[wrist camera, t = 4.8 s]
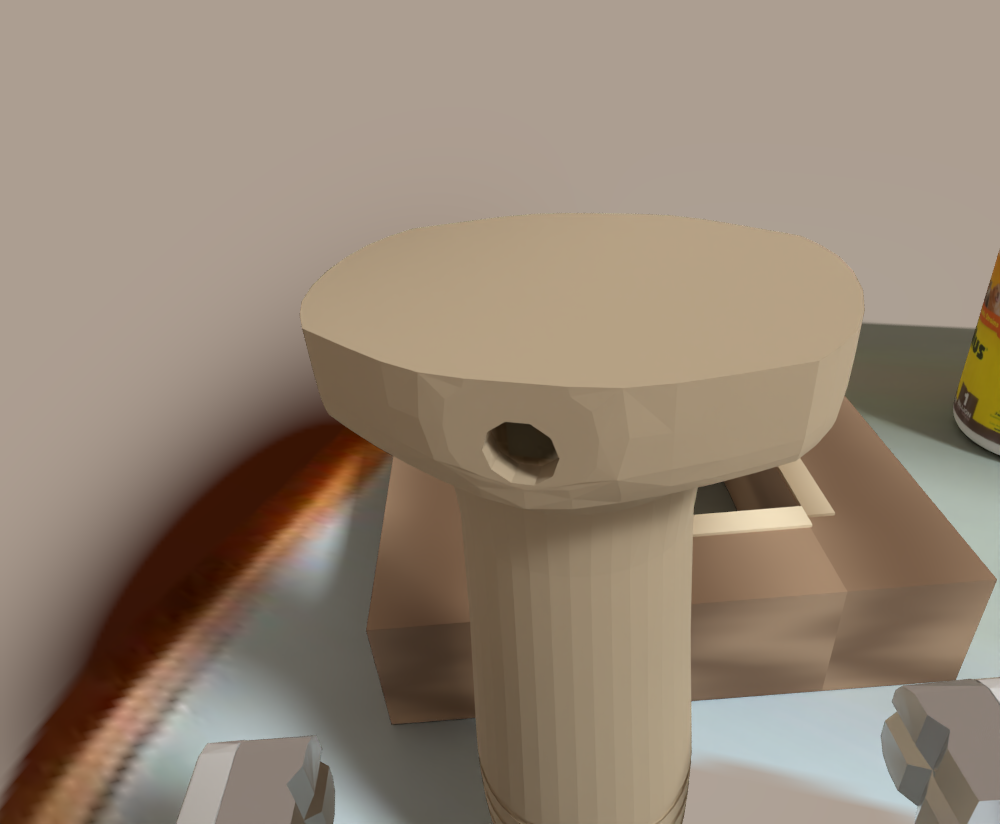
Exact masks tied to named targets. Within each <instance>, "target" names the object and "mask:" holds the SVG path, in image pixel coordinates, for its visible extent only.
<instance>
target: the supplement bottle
mask: <svg viewBox="0 0 1000 824" xmlns="http://www.w3.org/2000/svg"><path fill="white" fill-rule="evenodd" d="M953 414H954V418H955V420H956V423H957V425H958V426H959V428H960V429H961V430H962V431H963V432H964V434H965V435H966V436H967V437H969V438H970V439H971V440H972V441H974V442H975V443H977V444H978V445H980V446H981V447H983V448H985V449H987V450H989V451H991V452H993V453H995V454H997V455H1000V250H999V253H998V256H997V260H996V263H995V267H994V270H993V273H992V277H991V280H990V283H989V286H988V290H987V293H986V296H985V299H984V303H983V306H982V309H981V313H980V316H979V320H978V323H977V326H976V329H975V333H974V336H973V339H972V343H971V346H970V349H969V353H968V356H967V359H966V362H965V366H964V369H963V372H962V376H961V379H960V382H959V386H958V389H957V393H956V396H955V400H954V405H953Z"/></svg>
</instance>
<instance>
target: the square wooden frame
mask: <svg viewBox="0 0 1000 824" xmlns="http://www.w3.org/2000/svg"><path fill="white" fill-rule="evenodd" d="M724 483H725V485H726V487H727V489H728V491H729V494H730V496H731V498H732V500H733V502H734V504H735V506H736V508H737V511H734V512H722V513H710V514H698V515H693V553H692V594H691V701H697V700H710V699H722V698H735V697H748V696H761V695H773V694H786V693H799V692H812V691H825V690H837V689H850V688H863V687H876V686H889V685H901V684H914V683H927V682H940V681H952V680H956V678H957V675H958V673H959V671H960V668H961V666H962V663H963V661H964V659H965V656H966V654H967V651H968V649H969V646H970V644H971V642H972V639H973V637H974V634H975V632H976V629H977V627H978V625H979V622H980V620H981V617H982V615H983V613H984V610H985V608H986V605H987V603H988V600H989V598H990V596H991V593H992V591H993V588H994V586H995V583H996V581H997V579H996V578H995V576H994V575H993V574H992V573H991V572H990V570H989V569H988V568H987V567H986V566H985V564H984V563H983V562H982V561H981V560H980V558H979V557H978V556H977V555H976V553H975V552H974V551H973V550H972V549H971V547H970V546H969V545H968V544H967V543H966V541H965V540H964V539H963V538H962V537H961V535H960V534H959V533H958V532H957V531H956V529H955V528H954V527H953V526H952V524H951V523H950V522H949V521H948V520H947V518H946V517H945V516H944V515H943V514H942V512H941V511H940V510H939V509H938V508H937V506H936V505H935V504H934V503H933V502H932V500H931V499H930V498H929V497H928V495H927V494H926V493H925V492H924V491H923V489H922V488H921V487H920V486H919V485H918V483H917V482H916V481H915V480H914V479H913V477H912V476H911V475H910V474H909V473H908V471H907V470H906V469H905V468H904V466H903V465H902V464H901V463H900V462H899V460H898V459H897V458H896V457H895V456H894V454H893V453H892V452H891V451H890V450H889V448H888V447H887V446H886V445H885V444H884V442H883V441H882V440H881V439H880V438H879V436H878V435H877V434H876V433H875V431H874V430H873V429H872V428H871V427H870V425H869V424H868V423H867V422H866V421H865V419H864V418H863V417H862V416H861V415H860V413H859V412H858V411H857V410H856V409H855V407H854V406H853V405H852V404H851V402H850V401H849V400H848V399H847V398H846V396H845V395H844V398H843V401H842V404H841V407H840V410H839V413H838V416H837V419H836V421H835V423H834V424H833V426H832V428H831V429H830V430H829V431H828V433H827V434H826V435H825V436H824V437H823V438H822V439H821V440H820V442H819V443H818V444H817V445H816V446H815V447H814V448H812V449H811V450H810V451H808V452H807V453H806V454H804V455H803V456H802V457H801V458H799V459H798V460H797V461H794V462H791V463H787V464H784V465H781V466H777V467H774V468H770V469H767V470H763V471H760V472H756V473H753V474H749V475H745V476H741V477H738V478H734V479H730V480H726V481H724ZM366 632H367V635H368V639H369V643H370V647H371V650H372V654H373V658H374V661H375V665H376V669H377V672H378V676H379V680H380V683H381V687H382V691H383V694H384V698H385V702H386V706H387V709H388V713H389V717H390V720H391V724H403V723H416V722H428V721H441V720H454V719H467V718H476V715H475V697H474V680H473V663H472V645H471V628H470V614H469V603H468V591H467V580H466V568H465V557H464V546H463V534H462V523H461V513H460V509H459V505H458V501H457V497H456V493H455V489H454V486H453V485H450V484H448V483H446V482H443V481H441V480H439V479H437V478H435V477H433V476H431V475H429V474H427V473H425V472H423V471H421V470H419V469H417V468H415V467H413V466H410V465H408V464H406V463H405V462H403V461H401V460H399V459H398V458H396V457H394V456H393V461H392V468H391V474H390V481H389V487H388V493H387V500H386V506H385V513H384V519H383V526H382V532H381V538H380V545H379V551H378V558H377V564H376V570H375V577H374V583H373V590H372V596H371V602H370V609H369V615H368V622H367V628H366Z"/></svg>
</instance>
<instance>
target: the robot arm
mask: <svg viewBox="0 0 1000 824" xmlns="http://www.w3.org/2000/svg"><path fill="white" fill-rule="evenodd" d="M892 703H893V705H894V707H895V709H896V710H897V712H896V713H895V714H893V715H892V716H891V717H889V718H888V719H887V720H885V722H884V726H883V730H882V733H881V742H882V751H883V757H884V760H885V763H886V766H887V769H888V772H889V774H890V776H891V778H892V780H893V782H894V784H895V786H896V788H897V790H898V791H899V792H900V793H901V794H903V795H904V796H905V797H907V798H908V799H909V800H910V801H912V802H913V803H914V804H915V805H917V812H916V818H915V823H914V824H1000V677H994V678H984V679H964V680H954V681H945V682H935V683H925V684H915V685H905V686H902V687H900V688H898V689H897V690H896V691H895V693H894V696H893V699H892ZM321 753H322V746H321V744H320V742H319V740H318V738H317V735H311V736H299V737H286V738H273V739H261V740H240V741H229V742H218V743H207V745H206V746H205V748H204V749H203V751H202V752H201V754H200V755H199V757H198V759H197V762H196V765H195V768H194V771H193V774H192V777H191V780H190V783H189V786H188V789H187V792H186V795H185V798H184V801H183V804H182V807H181V810H180V813H179V815H178V818H177V821H176V824H333V822H334V815H335V788H334V781H333V776H332V773H331V770H330V767H329V766H327V765H326V764H324V763H322V762H321V761H320V759H321Z"/></svg>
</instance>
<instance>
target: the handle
mask: <svg viewBox="0 0 1000 824" xmlns="http://www.w3.org/2000/svg"><path fill="white" fill-rule="evenodd" d="M864 311H865V308H864V298H863V289H862V287H861V285H860V283H859V281H858V279H857V277H856V275H855V273H854V271H853V270H852V269H851V268H850V267H849V266H848V265H847V264H846V263H845V262H844V261H843V260H842V259H841V258H840V257H839V256H838V255H836V254H835V253H833V252H831V251H829V250H828V249H826V248H825V247H823V246H821V245H820V244H817V243H815V242H813V241H811V240H809V239H807V238H805V237H802V236H798V235H793V234H787V233H782V232H776V231H770V230H765V229H759V228H753V227H748V226H742V225H736V224H729V223H723V222H717V221H711V220H705V219H697V218H688V217H679V216H671V215H649V214H601V213H597V214H596V213H553V214H529V215H517V216H506V217H497V218H489V219H481V220H473V221H466V222H458V223H451V224H444V225H437V226H429V227H422V228H415V229H410V230H407V231H404V232H401V233H398V234H395V235H392V236H389V237H387V238H384V239H382V240H379V241H377V242H374V243H372V244H369V245H367V246H365V247H364V248H362V249H360V250H358V251H356V252H355V253H353V254H351V255H349V256H347V257H346V258H344V259H343V260H342V261H340V262H339V263H337V264H336V265H335V266H333V267H332V268H330V269H329V270H328V271H327V272H326V273H324V275H322V276H321V277H320V278H319V279H318V280H317V281H316V282H315V283H314V284H313V285H312V286H311V288H310V290H309V291H308V293H307V294H306V296H305V297H304V299H303V300H302V303H301V309H300V319H301V325H302V330H303V334H304V337H305V341H306V345H307V349H308V353H309V357H310V361H311V365H312V368H313V372H314V376H315V379H316V383H317V386H318V390H319V394H320V396H321V399H322V401H323V404H324V407H325V409H326V410H327V412H328V413H329V415H330V416H332V417H333V418H335V419H336V420H337V421H339V422H340V423H342V424H343V425H345V426H346V427H347V428H349V429H350V430H352V431H353V432H355V433H356V434H358V435H359V436H361V437H363V438H364V439H366V440H367V441H369V442H370V443H372V444H373V445H375V446H376V447H378V448H380V449H382V450H383V451H385V452H387V453H389V454H391V455H392V456H394V457H396V458H398V459H399V460H401V461H403V462H405V463H406V464H408V465H410V466H413V467H415V468H417V469H419V470H421V471H423V472H425V473H427V474H429V475H431V476H433V477H435V478H437V479H439V480H441V481H443V482H446V483H448V484H450V485H453V486H454V489H455V493H456V497H457V501H458V505H459V509H460V513H461V523H462V534H463V546H464V557H465V568H466V580H467V591H468V603H469V614H470V628H471V645H472V663H473V680H474V697H475V715H476V732H477V745H478V754H479V761H480V767H481V774H482V779H483V785H484V791H485V795H486V800H487V804H488V807H489V811H490V815H491V818H492V822H493V824H682V822H683V818H684V812H685V806H686V799H687V793H688V785H689V776H690V765H691V753H692V750H691V594H692V553H693V512H694V504H695V499H696V494H697V489H698V487H702V486H707V485H711V484H715V483H719V482H723V481H726V480H730V479H734V478H738V477H741V476H745V475H749V474H753V473H756V472H760V471H763V470H767V469H770V468H774V467H777V466H781V465H784V464H787V463H791V462H794V461H797V460H798V459H799V458H801V457H802V456H803V455H804V454H806V453H807V452H808V451H810V450H811V449H812V448H814V447H815V446H816V445H817V444H818V443H819V442H820V440H821V439H822V438H823V437H824V436H825V435H826V434H827V433H828V431H829V430H830V429H831V428H832V426H833V424H834V423H835V421H836V419H837V416H838V413H839V410H840V407H841V404H842V401H843V398H844V395H845V392H846V389H847V386H848V383H849V379H850V374H851V370H852V366H853V362H854V357H855V353H856V349H857V344H858V339H859V334H860V330H861V325H862V320H863V316H864Z"/></svg>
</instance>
